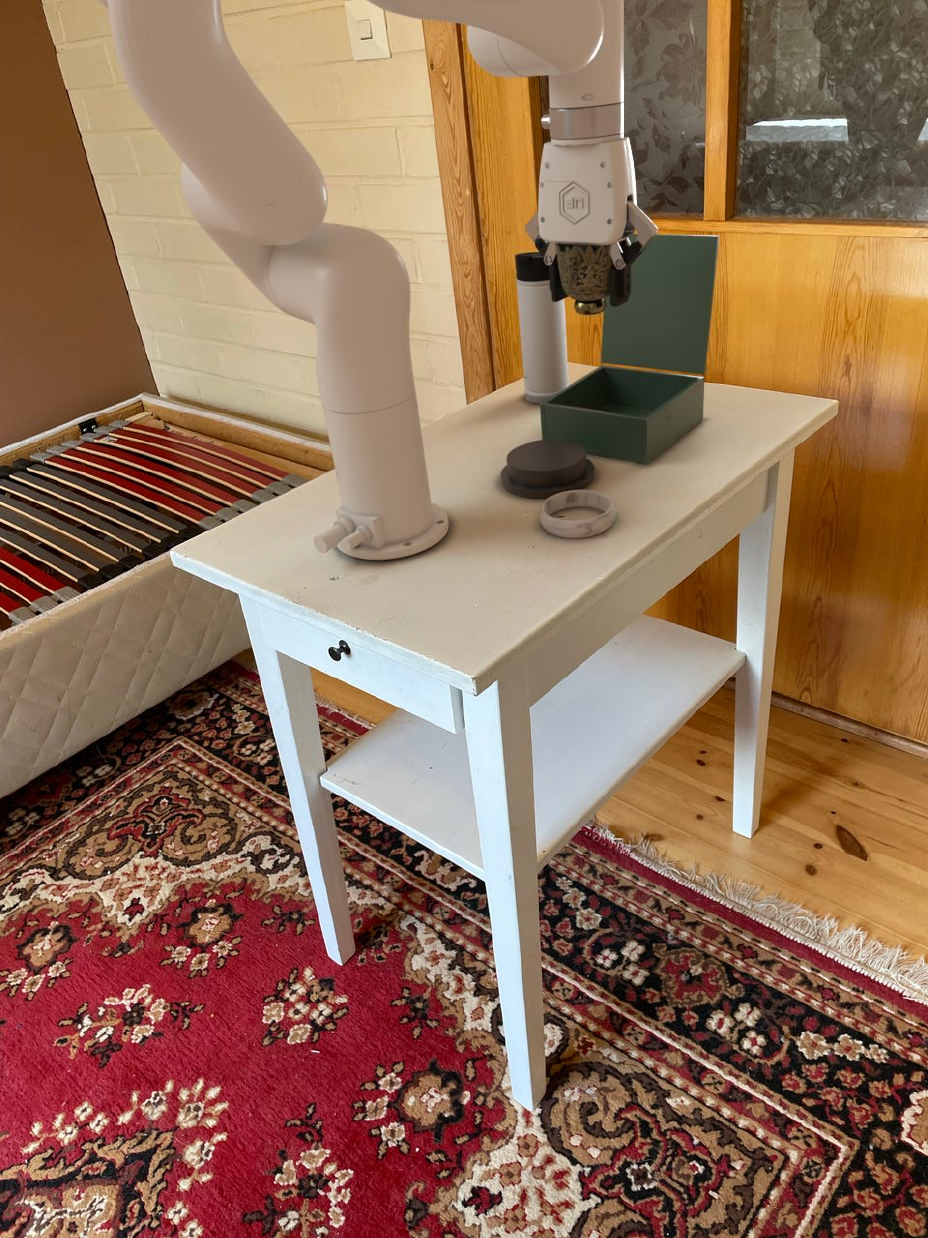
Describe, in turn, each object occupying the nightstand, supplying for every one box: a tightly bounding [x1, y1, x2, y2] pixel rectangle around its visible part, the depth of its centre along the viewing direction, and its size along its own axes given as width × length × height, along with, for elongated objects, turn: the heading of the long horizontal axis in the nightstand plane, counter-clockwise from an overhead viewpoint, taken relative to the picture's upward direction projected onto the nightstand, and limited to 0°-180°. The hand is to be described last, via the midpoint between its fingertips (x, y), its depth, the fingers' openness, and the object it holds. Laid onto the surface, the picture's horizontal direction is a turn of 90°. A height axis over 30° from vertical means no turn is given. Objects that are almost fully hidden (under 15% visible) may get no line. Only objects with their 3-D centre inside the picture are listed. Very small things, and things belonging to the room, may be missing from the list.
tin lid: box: [600, 233, 720, 375], centre depth 118 cm, size 16×15×1 cm
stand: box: [499, 439, 596, 500], centre depth 109 cm, size 11×11×3 cm
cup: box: [555, 242, 622, 316], centre depth 105 cm, size 8×7×8 cm
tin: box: [539, 364, 705, 465], centre depth 118 cm, size 15×15×6 cm
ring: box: [538, 489, 617, 539], centre depth 100 cm, size 8×8×2 cm
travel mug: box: [514, 251, 570, 405], centre depth 128 cm, size 6×7×20 cm
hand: (589, 300), depth 106 cm, fingers closed on cup, 7 cm apart
